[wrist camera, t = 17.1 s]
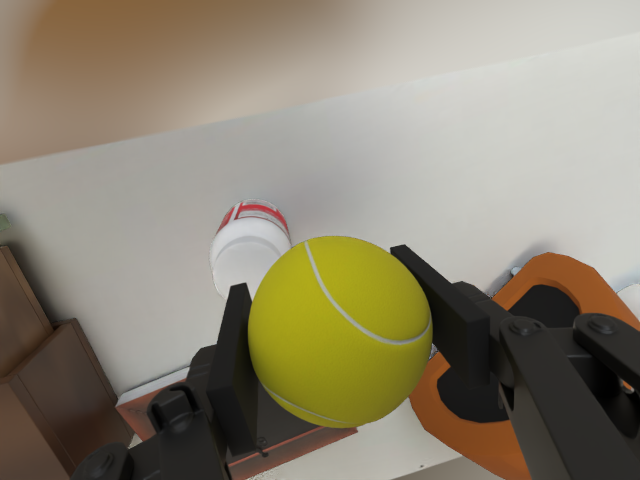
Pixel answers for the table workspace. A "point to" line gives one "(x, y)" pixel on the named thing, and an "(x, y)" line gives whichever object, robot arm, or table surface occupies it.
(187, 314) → the table surface
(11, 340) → the drawer
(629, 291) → the potted plant
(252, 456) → the picture frame
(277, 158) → the table surface
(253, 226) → the pill bottle
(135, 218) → the table surface
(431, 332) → the tennis ball
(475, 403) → the alarm clock
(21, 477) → the cabinet
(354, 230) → the table surface
